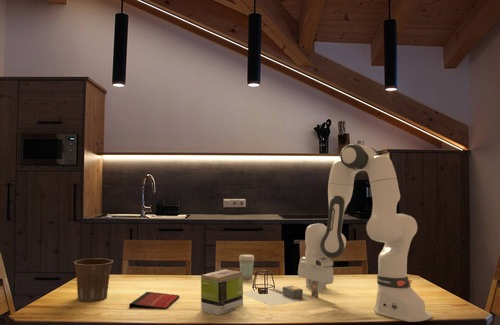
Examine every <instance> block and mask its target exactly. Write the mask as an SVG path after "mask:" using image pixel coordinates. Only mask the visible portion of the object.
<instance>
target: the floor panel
mask: <svg viewBox="0 0 500 325" xmlns="http://www.w3.org/2000/svg"><path fill="white" fill-rule="evenodd" d="M274 287H275V288H274V289H273V290H272V289H269V292H268V294H259V293H258V292H257V291H254V290H255V289H251V290H243V296H244V295H245V296H246V297H249V298H251V299H254V300H255V301H258V302H261V303H263V304H265V305H268V306H270V307H272V306H277V305H283V304H290V303H297V302H302V301H307V300H308V301H309V300H313V298H311V297H309V296H306V295H303V298H296V299H292V298H290V297H287V296H284V295H283V287H280V286H274Z"/></svg>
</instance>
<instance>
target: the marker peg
mask: <svg viewBox="0 0 500 325" xmlns="http://www.w3.org/2000/svg"><path fill="white" fill-rule="evenodd" d="M317 287H318V282H317V281H312V287H311V289H310V290H311V296H312V297H315V298H319V292H317V291H316V290H317V289H316V288H317Z"/></svg>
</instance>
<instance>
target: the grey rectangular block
mask: <svg viewBox="0 0 500 325" xmlns="http://www.w3.org/2000/svg"><path fill="white" fill-rule="evenodd" d="M282 288H283V295H284V296H287V297H290V298H292V299H296V298H303V296H304V294H303V293H304V291H303V290H304V289H302V288H300V287H297V286H294V285H287V286H286V285H285V286H282Z"/></svg>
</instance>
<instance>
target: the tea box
mask: <svg viewBox="0 0 500 325" xmlns="http://www.w3.org/2000/svg"><path fill="white" fill-rule="evenodd" d="M243 281H244V280H243V272H240V270H239V271H238V270H232V269H225V268H224V269H222V270H221V269H220V270H216V271H212V272H208V273H205V274H201V275H200V304H201V305H200V306H201V307H200V310H201V311H202V312H204V313H207V314H212V315H215V316H221V315H223V314H227V313H229V312H231V311H232V312H233V311H235V310H236V309H235V308H236V307H239V306H241V305H242V306H243V304H244V294H243V291H244V289H243V288H244V284H243V283H244V282H243Z"/></svg>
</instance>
